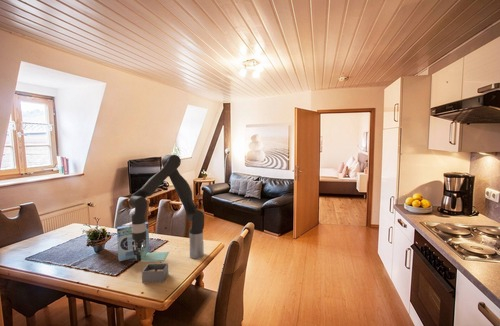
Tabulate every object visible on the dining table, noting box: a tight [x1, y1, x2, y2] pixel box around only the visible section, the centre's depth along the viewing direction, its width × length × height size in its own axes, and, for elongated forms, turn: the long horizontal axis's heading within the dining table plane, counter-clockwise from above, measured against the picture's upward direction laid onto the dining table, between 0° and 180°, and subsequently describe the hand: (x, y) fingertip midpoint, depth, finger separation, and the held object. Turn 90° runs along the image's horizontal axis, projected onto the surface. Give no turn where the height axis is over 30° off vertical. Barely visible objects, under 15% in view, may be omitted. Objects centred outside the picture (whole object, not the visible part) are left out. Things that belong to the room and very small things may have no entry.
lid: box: [134, 249, 169, 263], centre depth 140 cm, size 17×9×4 cm, turn 93°
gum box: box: [116, 221, 151, 262], centre depth 167 cm, size 20×5×23 cm, turn 123°
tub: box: [141, 263, 169, 284], centre depth 142 cm, size 12×9×7 cm
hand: (140, 258), depth 140 cm, fingers closed on lid, 4 cm apart
